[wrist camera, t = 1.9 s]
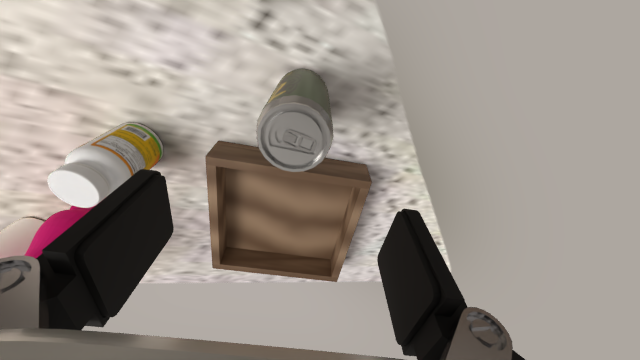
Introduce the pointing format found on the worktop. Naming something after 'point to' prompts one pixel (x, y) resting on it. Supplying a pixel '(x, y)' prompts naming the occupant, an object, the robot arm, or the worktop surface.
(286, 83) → the beer can
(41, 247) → the pepper mill
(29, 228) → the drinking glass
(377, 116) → the worktop surface
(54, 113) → the worktop surface
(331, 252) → the box
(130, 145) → the supplement bottle
